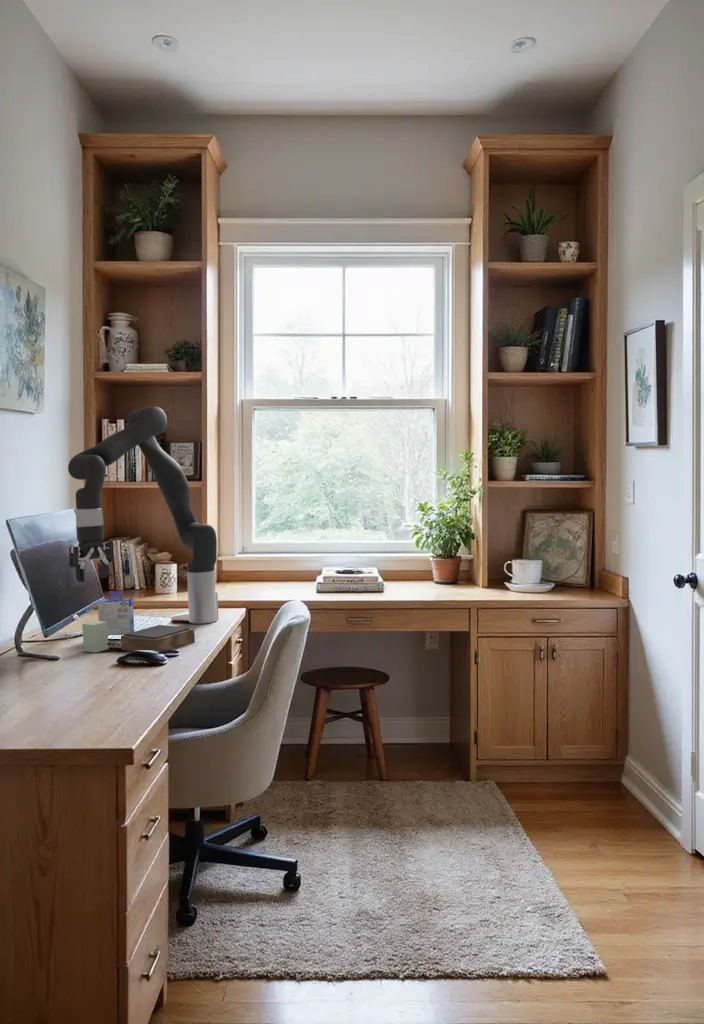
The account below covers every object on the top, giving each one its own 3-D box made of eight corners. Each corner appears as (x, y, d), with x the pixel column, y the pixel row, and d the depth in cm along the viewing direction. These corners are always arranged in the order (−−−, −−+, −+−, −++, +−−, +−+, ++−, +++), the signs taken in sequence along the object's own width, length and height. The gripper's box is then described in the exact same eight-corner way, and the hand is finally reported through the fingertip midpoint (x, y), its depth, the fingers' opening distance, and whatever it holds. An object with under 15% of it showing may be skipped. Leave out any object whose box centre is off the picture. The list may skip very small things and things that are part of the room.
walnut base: (159, 638, 254) (159, 623, 253) (194, 642, 247) (194, 627, 246) (121, 649, 240) (120, 634, 240) (157, 654, 233) (156, 638, 233)
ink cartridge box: (135, 635, 259) (133, 590, 258) (131, 639, 253) (129, 593, 252) (103, 637, 258) (101, 591, 258) (99, 641, 253) (96, 594, 252)
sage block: (96, 647, 244) (95, 620, 244) (108, 648, 242) (107, 621, 241) (83, 651, 240) (82, 623, 239) (95, 652, 237) (94, 625, 237)
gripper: (99, 522, 246) (102, 575, 248) (61, 526, 234) (64, 582, 235) (117, 522, 243) (120, 577, 244) (79, 526, 230) (82, 584, 231)
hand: (92, 579), depth 239 cm, fingers open, 8 cm apart
